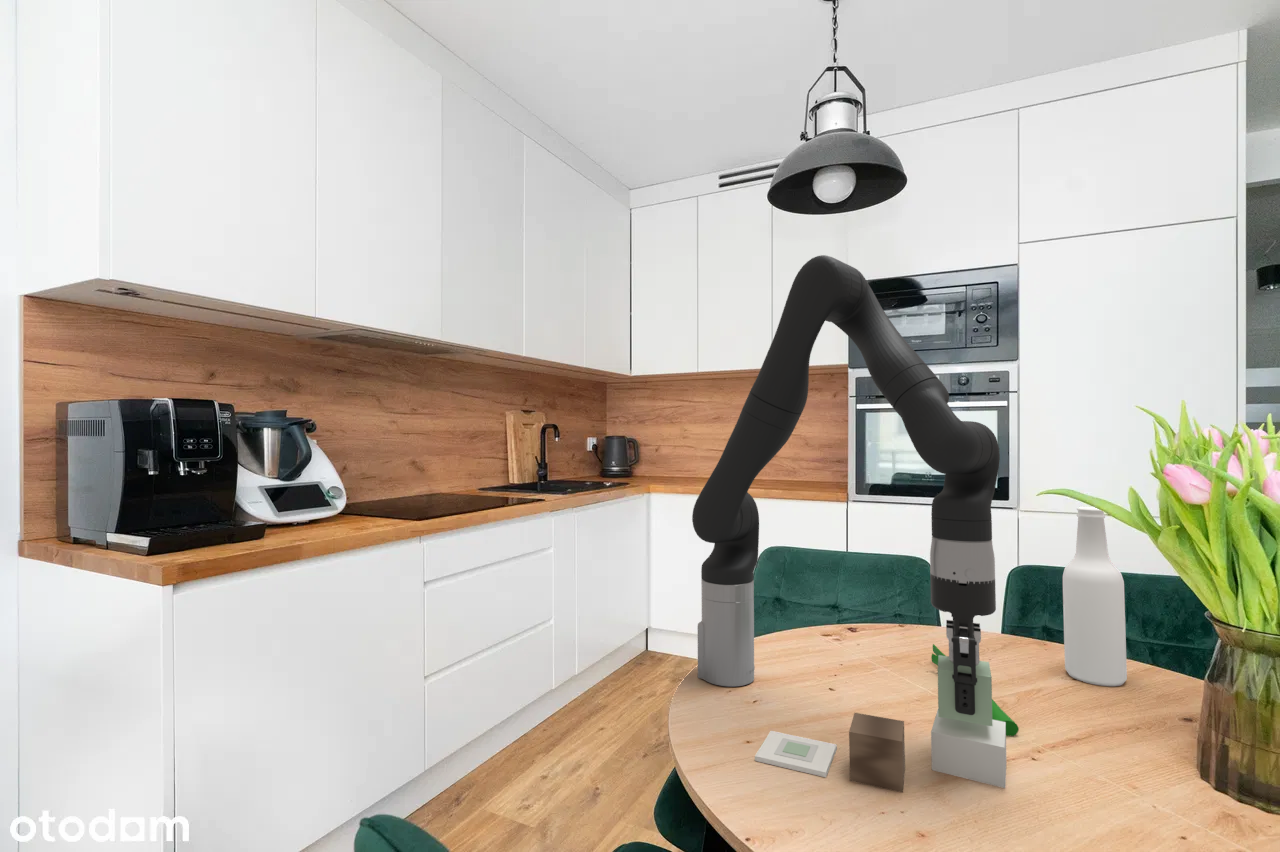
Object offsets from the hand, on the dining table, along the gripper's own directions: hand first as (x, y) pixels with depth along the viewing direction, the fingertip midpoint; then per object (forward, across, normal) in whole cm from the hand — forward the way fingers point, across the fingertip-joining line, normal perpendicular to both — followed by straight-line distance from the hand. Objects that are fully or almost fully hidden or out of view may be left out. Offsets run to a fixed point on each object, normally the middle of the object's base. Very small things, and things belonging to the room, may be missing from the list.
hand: (964, 703), depth 79 cm
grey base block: (+8, 0, 0) cm, 8 cm away
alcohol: (+8, -43, +21) cm, 48 cm away
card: (+8, +8, -20) cm, 23 cm away
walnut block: (+8, +8, -10) cm, 15 cm away
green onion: (+8, -25, 0) cm, 26 cm away
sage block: (+1, 0, 0) cm, 1 cm away
